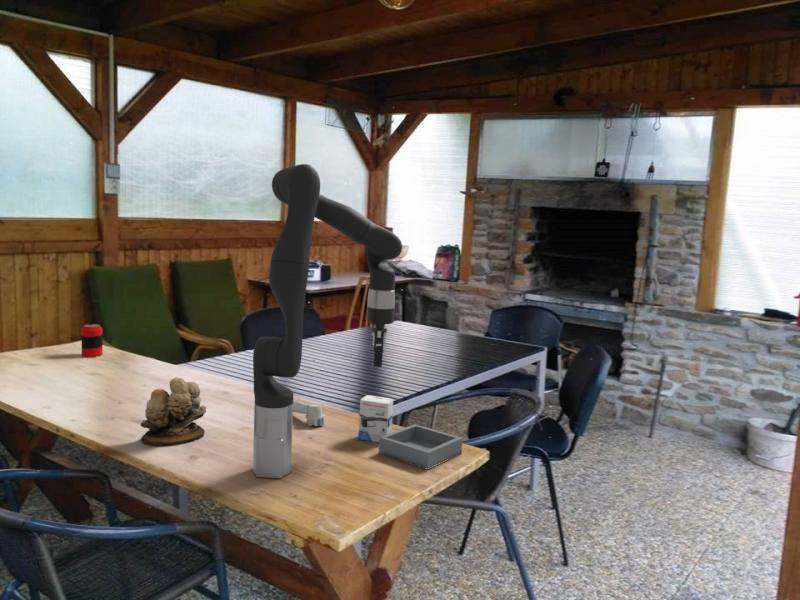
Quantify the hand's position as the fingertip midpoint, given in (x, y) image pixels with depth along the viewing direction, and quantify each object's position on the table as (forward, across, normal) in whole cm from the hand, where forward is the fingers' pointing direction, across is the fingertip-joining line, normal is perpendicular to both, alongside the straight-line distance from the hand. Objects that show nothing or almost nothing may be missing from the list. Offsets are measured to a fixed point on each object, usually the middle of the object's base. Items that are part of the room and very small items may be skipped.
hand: (378, 362), depth 196 cm
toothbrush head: (+23, +17, +24) cm, 37 cm away
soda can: (+23, +80, +114) cm, 141 cm away
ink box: (+22, 0, 0) cm, 22 cm away
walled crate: (+22, -10, -13) cm, 27 cm away
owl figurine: (+22, -7, +54) cm, 59 cm away
